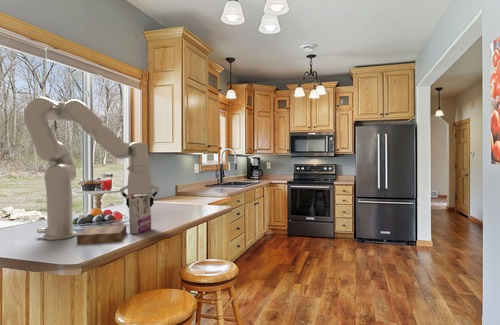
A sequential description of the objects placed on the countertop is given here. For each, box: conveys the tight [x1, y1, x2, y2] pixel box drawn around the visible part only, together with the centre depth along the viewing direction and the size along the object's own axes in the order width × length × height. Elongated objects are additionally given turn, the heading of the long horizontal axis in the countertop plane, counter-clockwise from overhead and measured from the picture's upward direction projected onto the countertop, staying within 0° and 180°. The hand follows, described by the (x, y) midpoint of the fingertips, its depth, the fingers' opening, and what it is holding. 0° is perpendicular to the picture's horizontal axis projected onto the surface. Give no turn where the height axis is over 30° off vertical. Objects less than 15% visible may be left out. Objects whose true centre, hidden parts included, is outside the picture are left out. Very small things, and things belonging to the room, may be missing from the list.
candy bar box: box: [128, 194, 152, 235], centre depth 152 cm, size 11×5×16 cm, turn 168°
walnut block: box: [76, 224, 127, 245], centre depth 141 cm, size 16×16×4 cm
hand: (140, 206), depth 152 cm, fingers open, 9 cm apart
